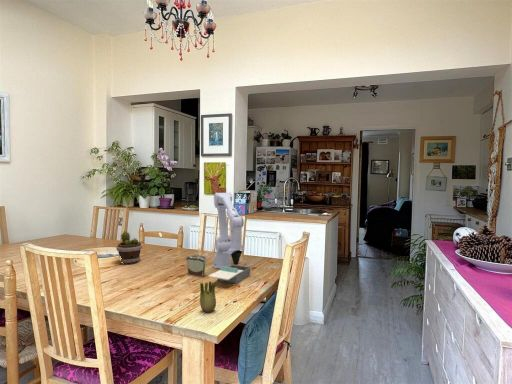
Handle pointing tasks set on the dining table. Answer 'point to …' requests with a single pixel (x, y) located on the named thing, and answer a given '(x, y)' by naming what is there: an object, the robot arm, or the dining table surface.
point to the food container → (196, 265)
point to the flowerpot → (129, 249)
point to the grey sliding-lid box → (240, 276)
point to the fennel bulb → (207, 297)
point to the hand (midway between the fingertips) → (235, 264)
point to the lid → (226, 273)
